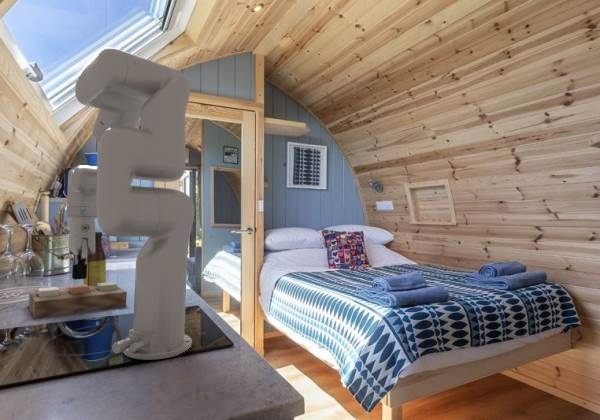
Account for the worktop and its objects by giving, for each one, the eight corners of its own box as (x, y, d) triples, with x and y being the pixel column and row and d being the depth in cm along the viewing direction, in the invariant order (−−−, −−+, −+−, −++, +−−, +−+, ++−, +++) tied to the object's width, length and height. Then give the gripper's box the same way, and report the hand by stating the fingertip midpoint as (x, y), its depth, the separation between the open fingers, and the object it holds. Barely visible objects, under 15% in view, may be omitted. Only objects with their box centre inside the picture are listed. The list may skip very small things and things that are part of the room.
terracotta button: (85, 294, 103) (86, 284, 103) (88, 297, 100) (89, 286, 100) (68, 296, 100) (68, 285, 100) (71, 299, 97) (71, 288, 97)
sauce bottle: (109, 291, 120) (112, 231, 120) (97, 295, 113) (99, 232, 114) (91, 290, 120) (93, 230, 121) (77, 294, 114) (80, 231, 114)
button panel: (112, 296, 112) (113, 283, 112) (126, 306, 102) (126, 291, 102) (28, 306, 98) (29, 291, 98) (34, 318, 88) (35, 301, 88)
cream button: (56, 297, 98) (56, 286, 98) (58, 300, 95) (59, 289, 95) (37, 299, 96) (38, 288, 96) (39, 302, 93) (40, 291, 93)
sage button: (112, 292, 108) (112, 282, 108) (116, 294, 105) (116, 284, 105) (96, 293, 105) (97, 283, 105) (100, 296, 102) (100, 285, 102)
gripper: (104, 214, 97) (100, 281, 97) (91, 212, 109) (88, 273, 108) (71, 213, 93) (68, 284, 92) (62, 211, 104) (58, 275, 103)
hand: (79, 278), depth 100 cm, fingers closed
